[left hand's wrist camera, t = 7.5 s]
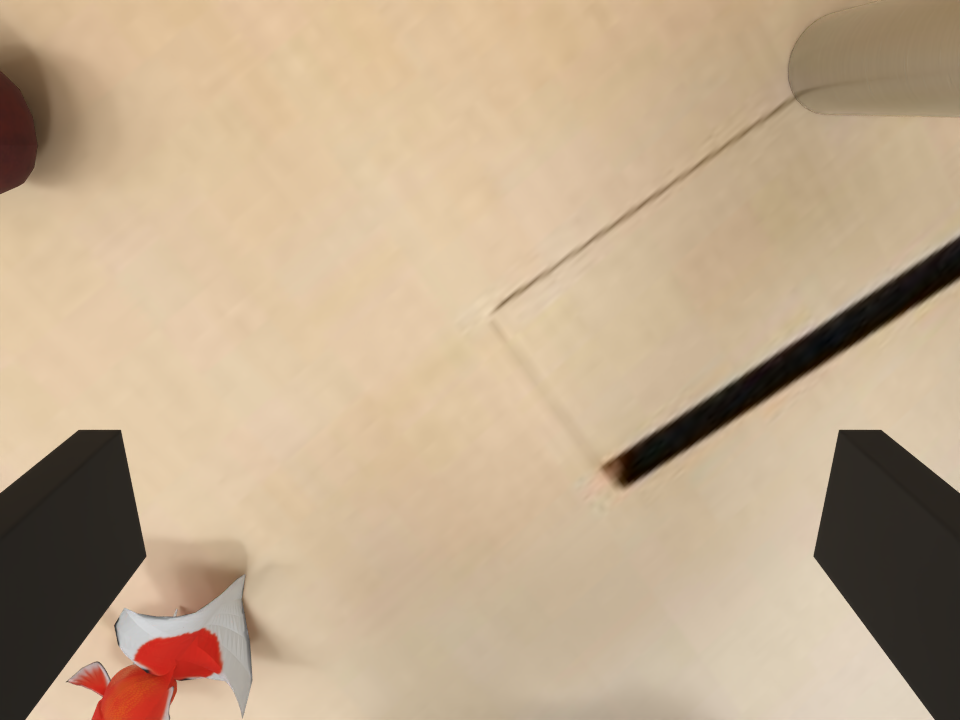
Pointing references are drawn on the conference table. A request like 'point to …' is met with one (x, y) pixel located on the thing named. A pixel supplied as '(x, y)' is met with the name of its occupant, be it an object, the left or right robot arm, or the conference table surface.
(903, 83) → the bottle
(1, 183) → the dark red ball
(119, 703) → the fish
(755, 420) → the conference table surface
